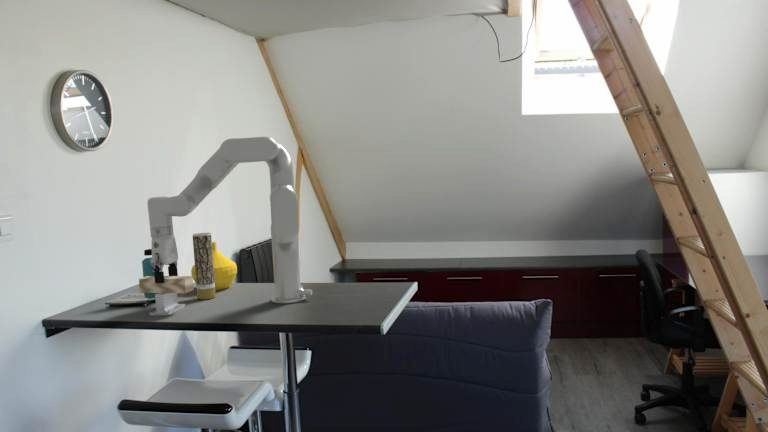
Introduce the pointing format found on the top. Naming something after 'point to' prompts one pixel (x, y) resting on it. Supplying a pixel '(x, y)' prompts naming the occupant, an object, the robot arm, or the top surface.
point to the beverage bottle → (148, 271)
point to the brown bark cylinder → (204, 265)
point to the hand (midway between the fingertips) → (166, 280)
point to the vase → (221, 269)
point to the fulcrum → (166, 304)
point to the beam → (166, 284)
